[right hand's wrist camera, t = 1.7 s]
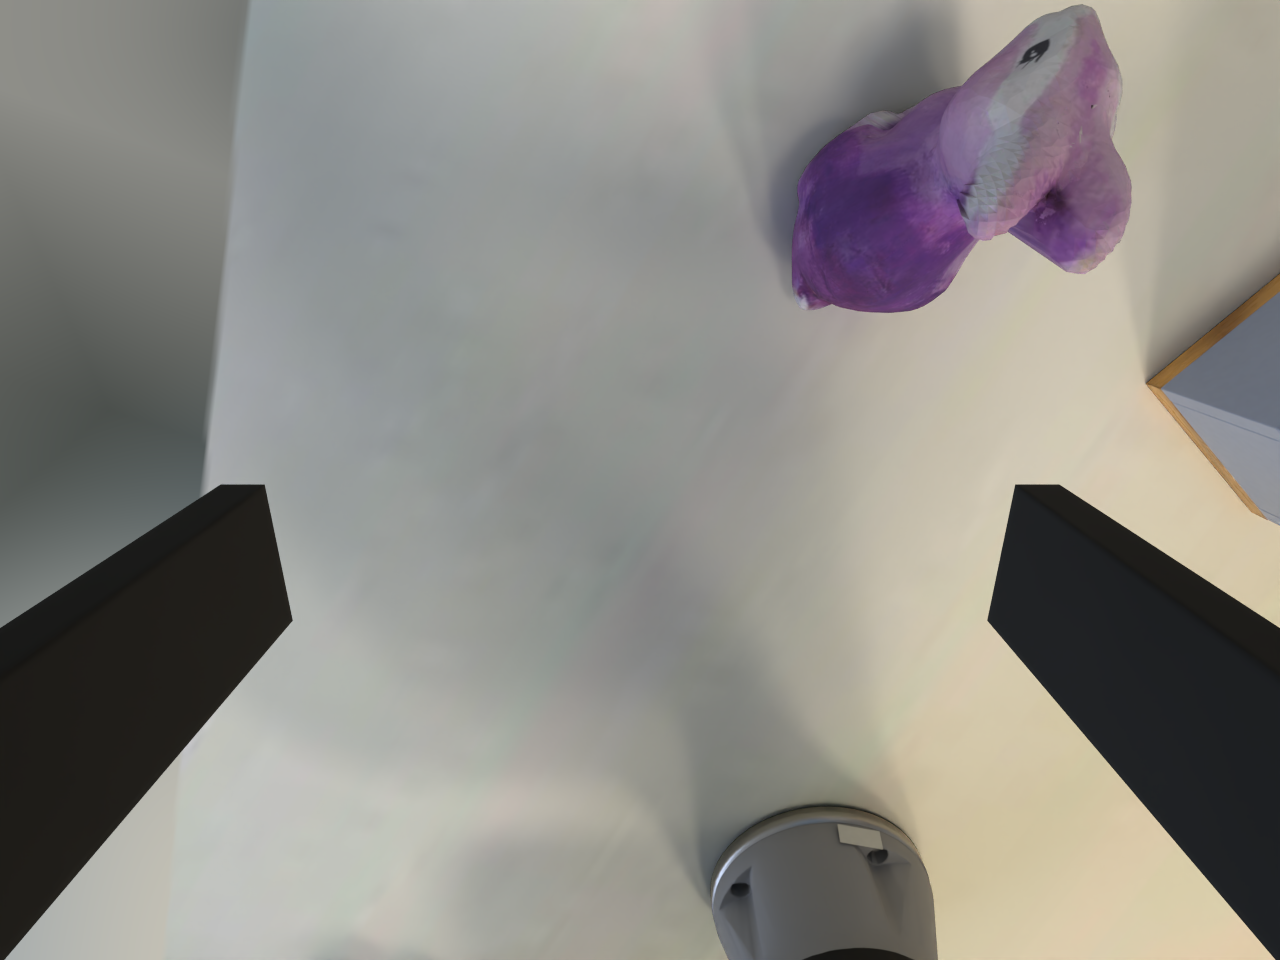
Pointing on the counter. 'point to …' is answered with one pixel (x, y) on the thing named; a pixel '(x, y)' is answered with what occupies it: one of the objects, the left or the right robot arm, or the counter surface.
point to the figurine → (970, 175)
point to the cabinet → (1234, 399)
